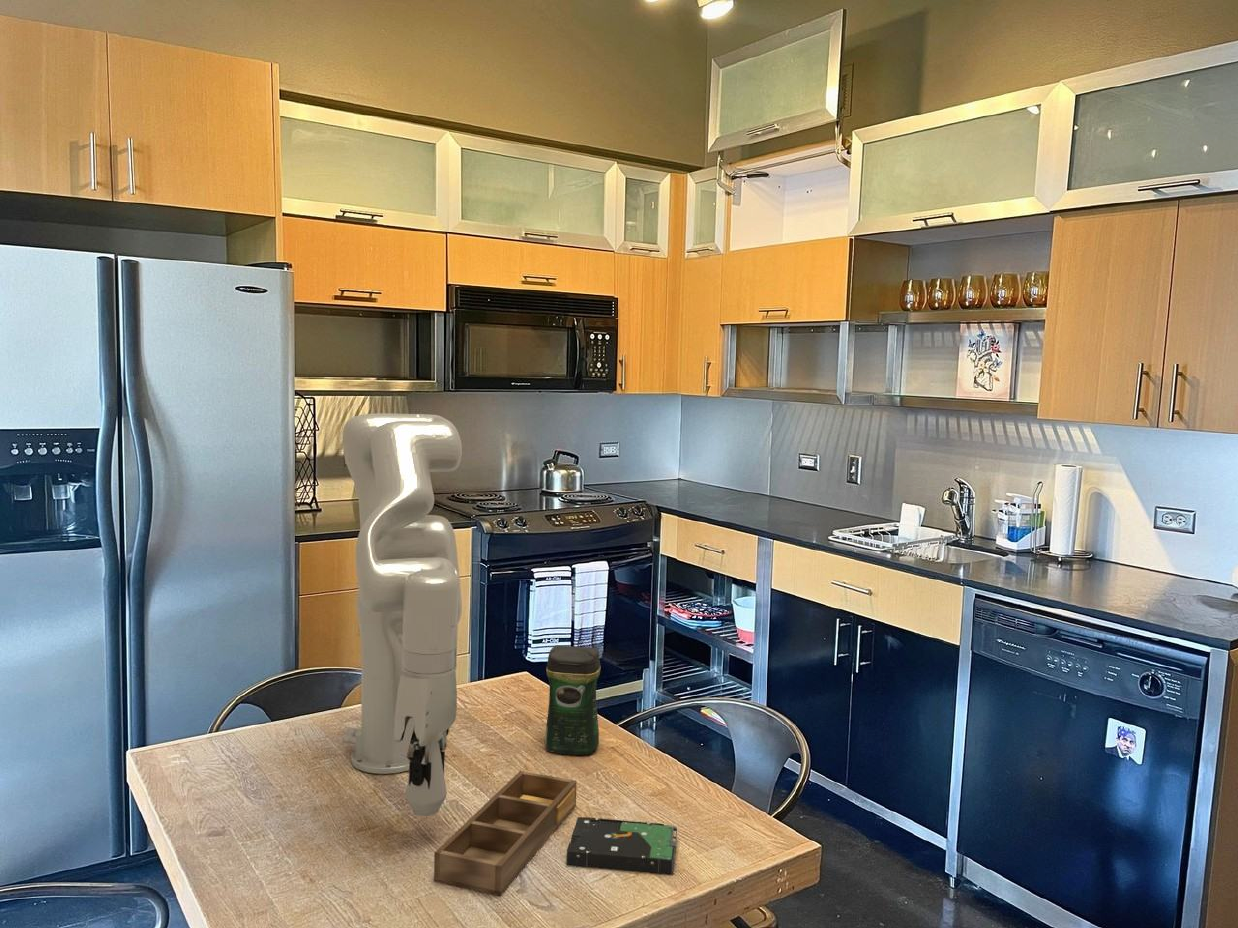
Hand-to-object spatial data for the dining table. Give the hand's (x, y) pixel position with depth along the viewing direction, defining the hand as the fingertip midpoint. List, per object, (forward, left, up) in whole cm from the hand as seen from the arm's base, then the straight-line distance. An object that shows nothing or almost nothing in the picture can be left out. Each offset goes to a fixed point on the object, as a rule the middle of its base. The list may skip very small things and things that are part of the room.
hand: (426, 780), depth 132 cm
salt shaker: (0, 0, -4) cm, 4 cm away
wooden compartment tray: (+12, +4, -8) cm, 15 cm away
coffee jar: (+8, +38, -9) cm, 40 cm away
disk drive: (+28, +7, -9) cm, 30 cm away
